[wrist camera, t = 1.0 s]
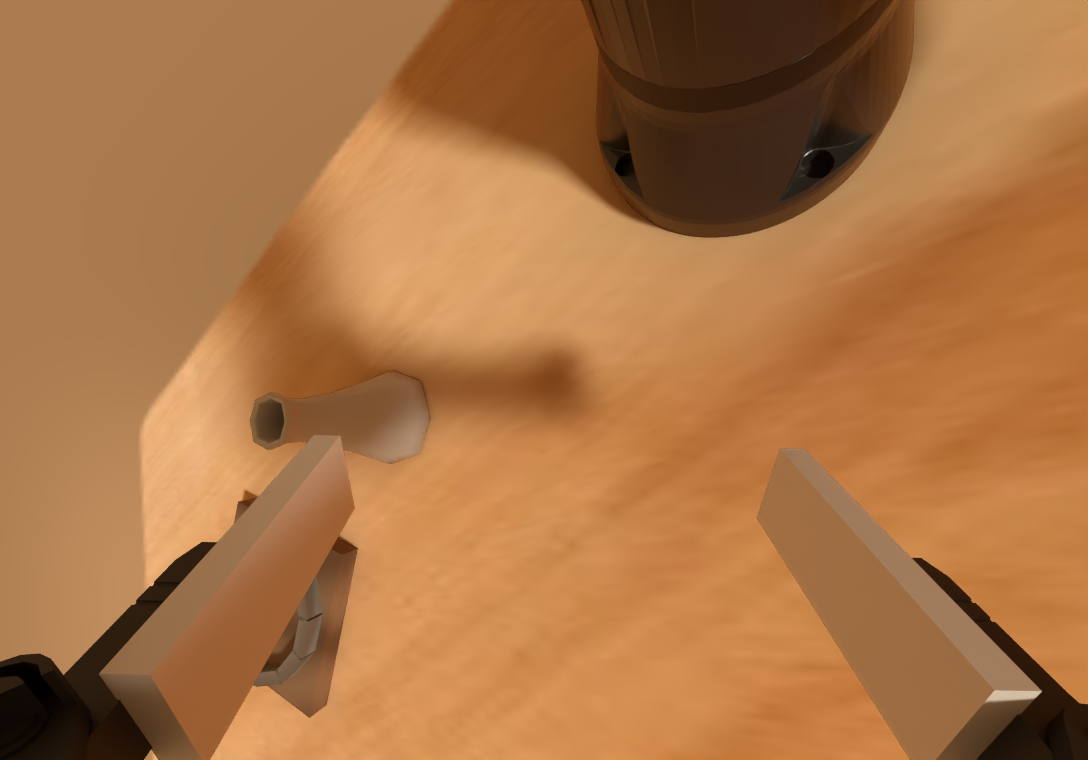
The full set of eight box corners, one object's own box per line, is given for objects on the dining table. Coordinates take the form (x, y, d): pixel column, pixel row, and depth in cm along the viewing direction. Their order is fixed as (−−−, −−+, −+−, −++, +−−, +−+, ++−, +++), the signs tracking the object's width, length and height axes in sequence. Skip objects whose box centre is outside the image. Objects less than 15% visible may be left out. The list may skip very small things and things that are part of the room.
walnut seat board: (255, 498, 39) (223, 504, 36) (357, 548, 33) (328, 560, 31) (229, 634, 39) (195, 650, 36) (326, 705, 34) (294, 728, 31)
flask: (358, 461, 34) (224, 481, 25) (361, 372, 34) (230, 359, 25) (431, 466, 31) (310, 491, 22) (433, 369, 32) (315, 354, 22)
